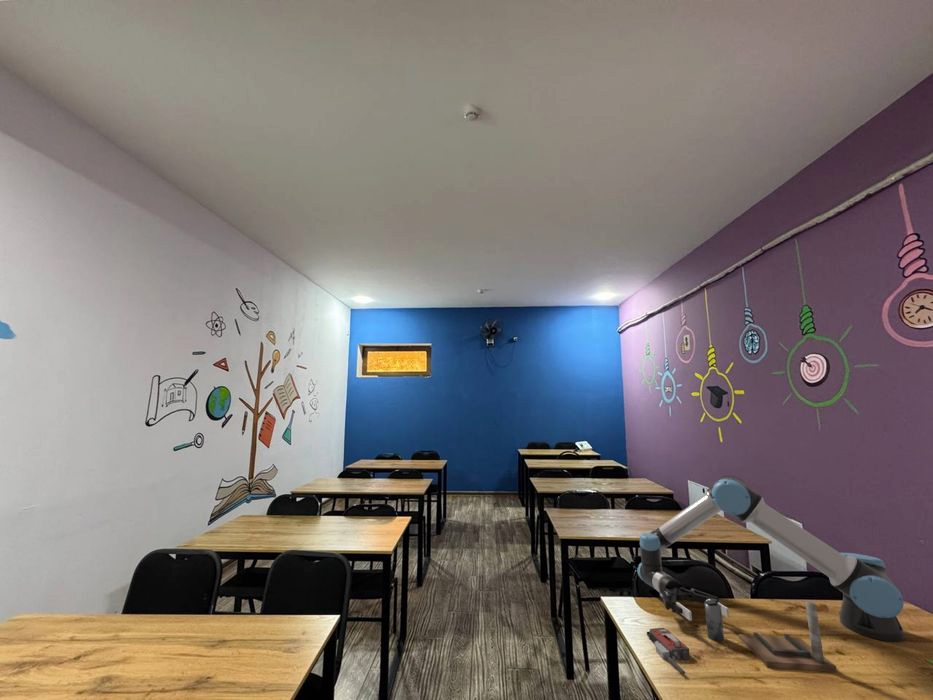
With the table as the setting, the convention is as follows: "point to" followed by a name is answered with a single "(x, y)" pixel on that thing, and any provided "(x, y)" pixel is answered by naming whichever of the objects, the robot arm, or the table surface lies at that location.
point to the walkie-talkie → (668, 646)
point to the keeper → (792, 646)
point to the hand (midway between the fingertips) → (709, 614)
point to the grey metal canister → (714, 620)
